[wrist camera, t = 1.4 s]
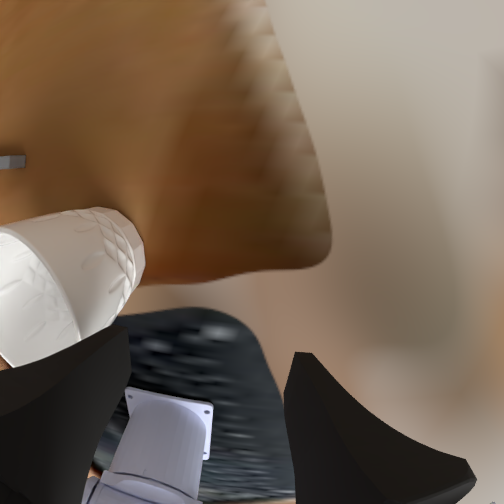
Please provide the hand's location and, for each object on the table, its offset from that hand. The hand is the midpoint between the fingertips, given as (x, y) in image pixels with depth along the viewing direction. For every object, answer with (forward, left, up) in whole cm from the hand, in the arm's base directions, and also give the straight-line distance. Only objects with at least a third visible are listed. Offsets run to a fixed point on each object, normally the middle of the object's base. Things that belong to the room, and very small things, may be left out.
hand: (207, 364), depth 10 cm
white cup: (0, +9, -10) cm, 14 cm away
